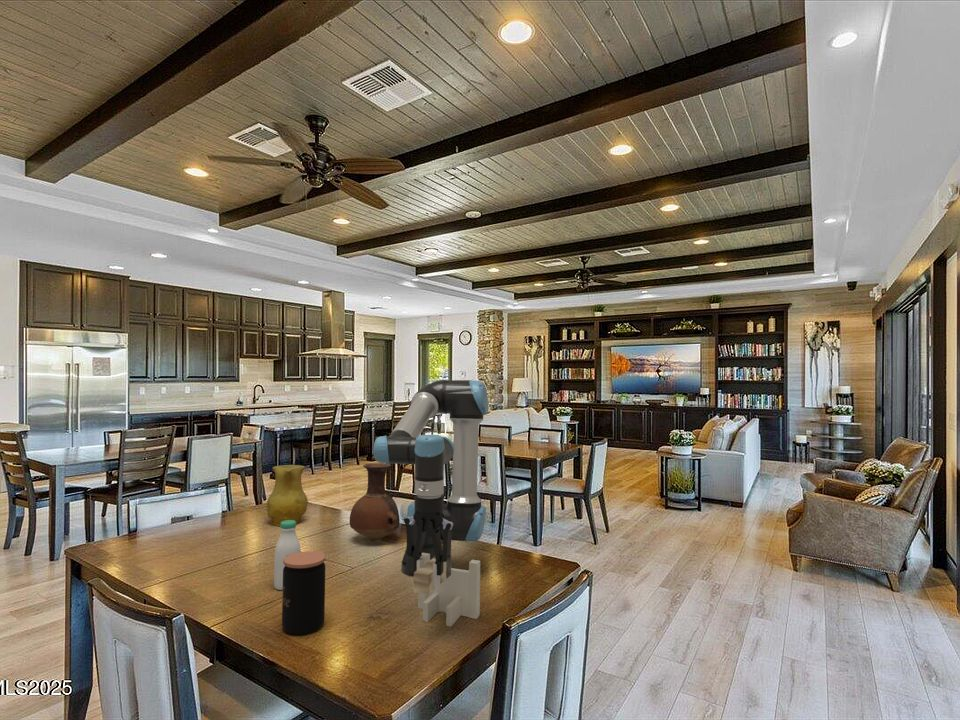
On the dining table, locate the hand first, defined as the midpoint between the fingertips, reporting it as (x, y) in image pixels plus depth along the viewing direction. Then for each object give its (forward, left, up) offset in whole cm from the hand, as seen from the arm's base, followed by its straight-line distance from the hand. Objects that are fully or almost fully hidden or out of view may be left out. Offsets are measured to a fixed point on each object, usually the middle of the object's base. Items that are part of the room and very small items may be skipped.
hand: (428, 585), depth 139 cm
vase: (-53, +61, -12) cm, 81 cm away
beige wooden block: (0, +3, 0) cm, 3 cm away
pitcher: (-102, +69, -12) cm, 123 cm away
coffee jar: (-32, -9, -12) cm, 35 cm away
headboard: (0, +10, -12) cm, 15 cm away
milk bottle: (-54, +11, -12) cm, 56 cm away
